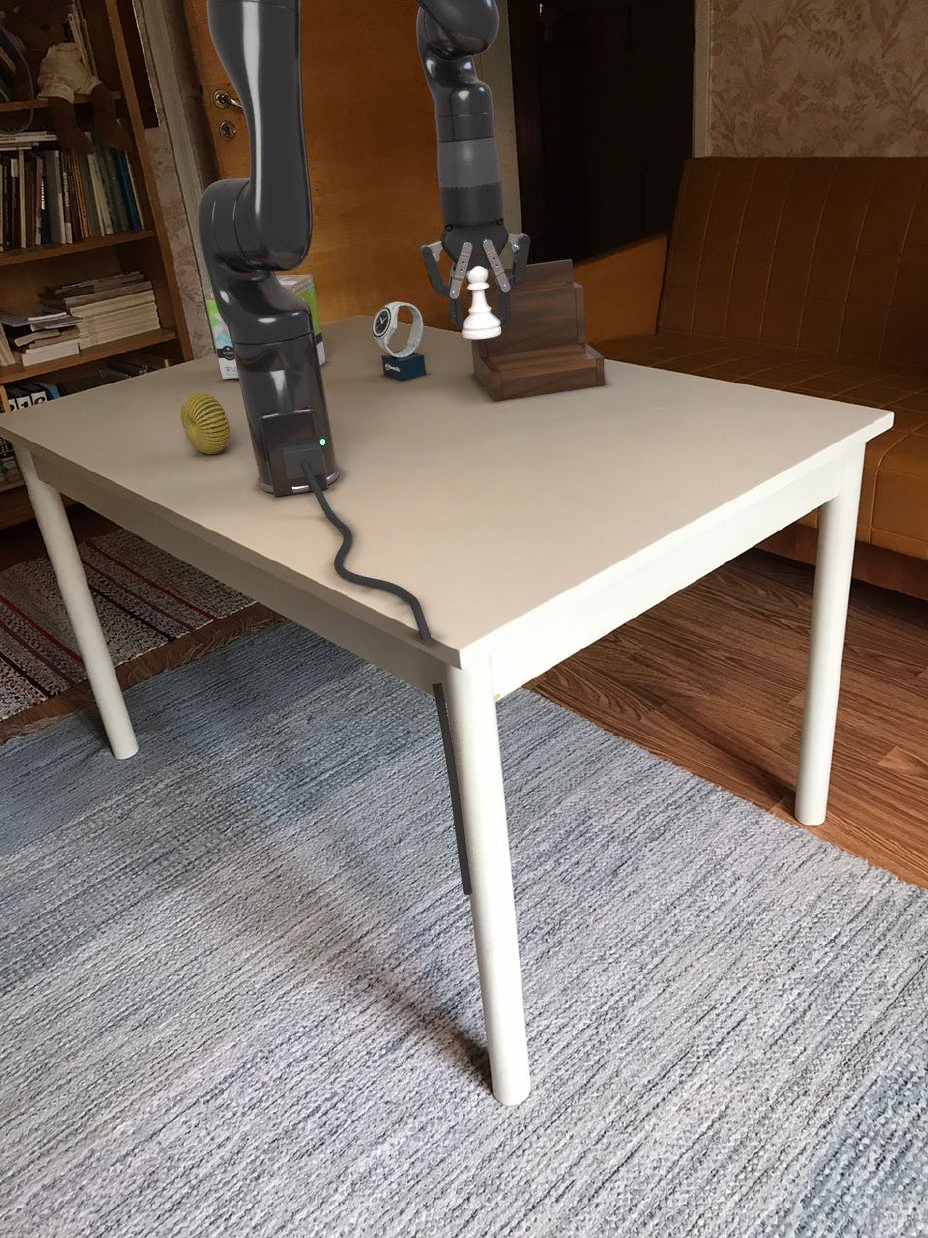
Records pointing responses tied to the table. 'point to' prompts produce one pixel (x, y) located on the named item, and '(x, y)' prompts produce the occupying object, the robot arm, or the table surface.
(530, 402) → the table surface
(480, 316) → the chess pawn
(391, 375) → the watch
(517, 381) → the shelf
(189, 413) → the sculpture
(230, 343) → the tea box
